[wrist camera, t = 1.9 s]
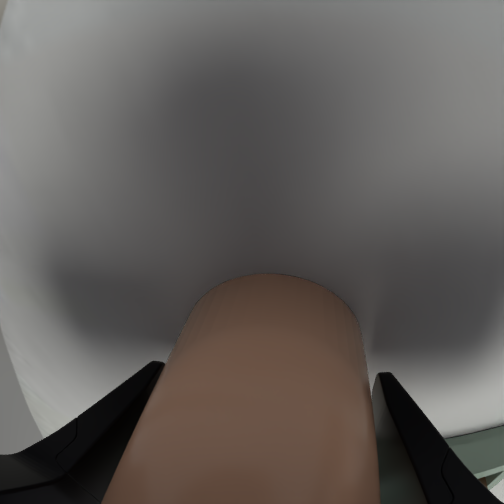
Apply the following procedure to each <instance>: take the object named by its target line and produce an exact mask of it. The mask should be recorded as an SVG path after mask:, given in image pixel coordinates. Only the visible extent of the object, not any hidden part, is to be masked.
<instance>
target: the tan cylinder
mask: <svg viewBox="0 0 504 504" xmlns="http://www.w3.org/2000/svg"><path fill="white" fill-rule="evenodd" d="M101 504H381V498H380V480H379V465H378V453H377V442H376V432H375V423H374V414H373V406H372V398H371V391H370V384H369V377H368V370H367V364H366V357H365V351H364V345H363V339H362V334H361V330H360V326H359V324H358V321H357V319H356V317H355V315H354V314H353V312H352V311H351V310H350V308H349V307H348V306H347V305H346V304H345V303H344V302H343V301H342V300H341V299H340V298H339V297H338V296H336V295H335V294H334V293H332V292H331V291H329V290H327V289H326V288H324V287H322V286H320V285H318V284H316V283H313V282H311V281H308V280H305V279H302V278H298V277H294V276H288V275H282V274H254V275H247V276H242V277H238V278H235V279H231V280H229V281H226V282H224V283H222V284H220V285H218V286H216V287H215V288H213V289H211V290H210V291H209V292H207V293H206V294H205V295H204V296H203V297H202V298H201V299H200V300H199V301H198V302H197V303H196V305H195V306H194V308H193V310H192V311H191V313H190V315H189V317H188V319H187V321H186V323H185V325H184V327H183V329H182V331H181V333H180V335H179V338H178V340H177V342H176V344H175V346H174V348H173V350H172V352H171V354H170V356H169V358H168V360H167V362H166V364H165V366H164V368H163V370H162V372H161V374H160V376H159V379H158V381H157V383H156V385H155V387H154V389H153V391H152V393H151V395H150V397H149V399H148V402H147V404H146V406H145V408H144V410H143V412H142V414H141V416H140V419H139V421H138V423H137V425H136V427H135V429H134V431H133V434H132V436H131V438H130V440H129V442H128V444H127V447H126V449H125V451H124V453H123V455H122V458H121V460H120V462H119V464H118V466H117V469H116V471H115V473H114V475H113V477H112V480H111V482H110V484H109V486H108V489H107V491H106V493H105V495H104V498H103V500H102V502H101Z"/></svg>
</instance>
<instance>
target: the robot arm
mask: <svg viewBox="0 0 504 504" xmlns="http://www.w3.org/2000/svg"><path fill="white" fill-rule="evenodd" d="M164 366H165V363H164V362H160V361H152V362H150V363H149V364H147V365H146V366H145V367H143V368H142V369H141V370H139V371H138V372H137V373H135V374H134V375H133V376H132V377H130V378H129V379H128V380H126V381H125V382H124V383H122V384H121V385H120V386H118V387H117V388H116V389H114V390H113V391H112V392H110V393H109V394H107V395H106V396H105V397H103V398H102V399H101V400H99V401H98V402H97V403H95V404H94V405H93V406H91V407H90V408H89V409H87V410H86V411H85V412H83V413H82V414H80V415H79V416H78V417H77V418H75V419H73V420H72V421H71V422H69V423H68V424H66V425H65V426H64V427H62V428H61V429H59V430H58V431H56V432H54V433H53V434H51V435H49V436H48V437H46V438H44V439H43V440H41V441H39V442H37V443H35V444H34V445H32V446H30V447H28V448H26V449H25V450H23V451H21V452H18V453H15V454H9V455H0V504H101V502H102V500H103V498H104V495H105V493H106V491H107V489H108V486H109V484H110V482H111V480H112V477H113V475H114V473H115V471H116V469H117V466H118V464H119V462H120V460H121V458H122V455H123V453H124V451H125V449H126V447H127V444H128V442H129V440H130V438H131V436H132V434H133V431H134V429H135V427H136V425H137V423H138V421H139V419H140V416H141V414H142V412H143V410H144V408H145V406H146V404H147V402H148V399H149V397H150V395H151V393H152V391H153V389H154V387H155V385H156V383H157V381H158V379H159V376H160V374H161V372H162V370H163V368H164ZM372 406H373V414H374V423H375V432H376V442H377V453H378V465H379V480H380V498H381V504H504V503H503V502H501V501H500V500H499V499H497V498H496V497H495V496H494V495H493V494H492V493H491V492H490V491H489V490H488V489H487V488H486V487H485V486H484V485H483V484H482V483H481V482H480V481H479V480H478V479H477V478H476V477H475V476H474V474H473V473H472V472H471V471H470V470H469V469H468V468H467V467H466V466H465V465H464V463H463V462H462V461H461V460H460V459H459V457H458V456H457V455H456V454H455V452H454V451H453V450H452V448H451V447H449V445H448V443H447V442H446V441H445V439H444V438H443V437H442V436H441V434H440V433H439V432H438V431H437V429H436V428H435V427H434V425H433V424H432V423H431V422H430V420H429V419H428V418H427V417H426V415H425V414H424V413H423V412H422V410H421V409H420V408H419V406H418V405H417V404H416V403H415V401H414V400H413V399H412V398H411V397H410V395H409V394H408V393H407V392H406V390H405V389H404V388H403V387H402V385H401V384H400V383H399V382H398V380H397V379H396V378H395V377H394V375H393V374H392V373H390V372H380V373H378V374H377V376H376V379H375V383H374V386H373V389H372Z"/></svg>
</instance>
